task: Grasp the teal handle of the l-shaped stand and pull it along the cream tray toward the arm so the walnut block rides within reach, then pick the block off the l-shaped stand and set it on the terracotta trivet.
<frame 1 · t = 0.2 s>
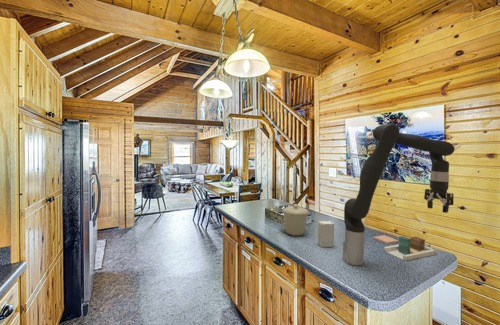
hand: (437, 210, 118), 28 cm above the kitchen island, fingers open, 8 cm apart
canister: (294, 233, 157), on the kitchen island
trivet: (385, 240, 148), on the kitchen island
l-shaped stand: (412, 243, 130), point 5 cm above the kitchen island, slide at 0.0 cm, touching block
skincare box: (325, 245, 138), on the kitchen island
cream tray: (413, 251, 131), on the kitchen island
block: (417, 248, 132), point 2 cm above the kitchen island, touching l-shaped stand
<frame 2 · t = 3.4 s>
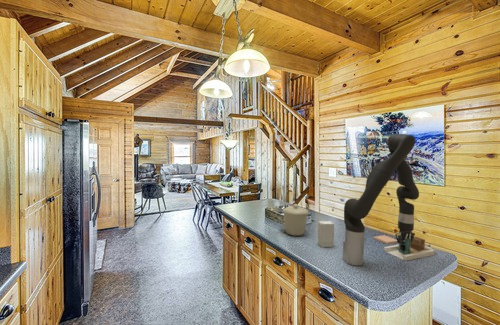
hand: (404, 250, 128), 2 cm above the kitchen island, fingers closed on l-shaped stand, 2 cm apart
l-shaped stand: (412, 243, 130), point 5 cm above the kitchen island, slide at 0.0 cm, touching block, gripper
everything else where it was.
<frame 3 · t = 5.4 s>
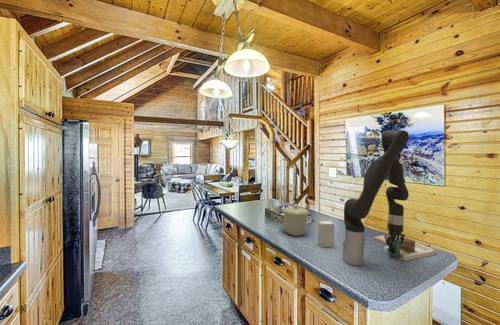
hand: (393, 252, 125), 2 cm above the kitchen island, fingers open, 3 cm apart
l-shaped stand: (402, 245, 127), point 5 cm above the kitchen island, slide at 8.5 cm, touching block
block: (407, 250, 129), point 2 cm above the kitchen island, touching l-shaped stand
everything else where it was.
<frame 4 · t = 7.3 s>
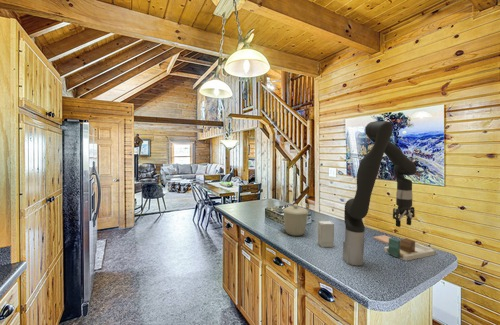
hand: (403, 225, 126), 17 cm above the kitchen island, fingers open, 8 cm apart
nothing on the kitchen island moved.
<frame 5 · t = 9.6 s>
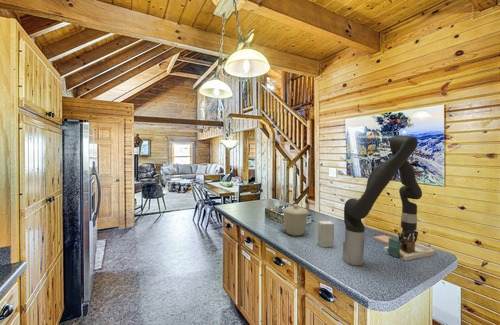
hand: (407, 249, 129), 2 cm above the kitchen island, fingers closed on block, 5 cm apart
block: (407, 250, 129), point 2 cm above the kitchen island, touching gripper, l-shaped stand
everything else where it was.
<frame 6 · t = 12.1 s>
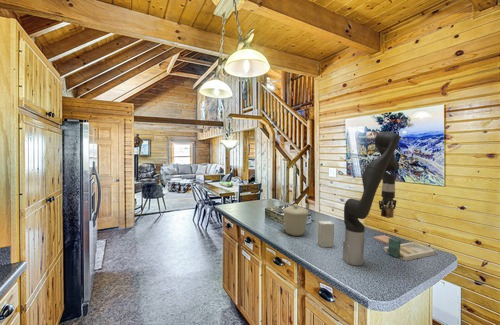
hand: (387, 215, 147), 17 cm above the kitchen island, fingers closed on block, 5 cm apart
l-shaped stand: (402, 245, 127), point 5 cm above the kitchen island, slide at 8.5 cm
block: (387, 216, 147), point 16 cm above the kitchen island, touching gripper
everything else where it was.
when the fingers open (3 cm above the kitchen island, at t = 14.6 s): block stays where it is, resting on trivet.
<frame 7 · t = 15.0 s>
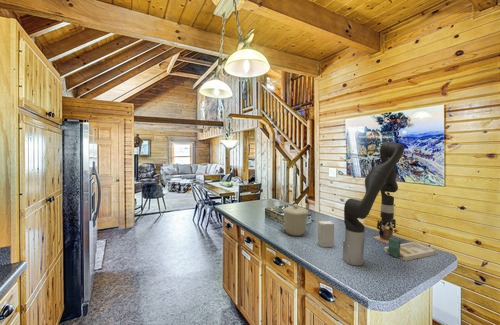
hand: (385, 235, 148), 4 cm above the kitchen island, fingers open, 8 cm apart
block: (385, 238, 148), point 1 cm above the kitchen island, touching trivet
everything else where it was.
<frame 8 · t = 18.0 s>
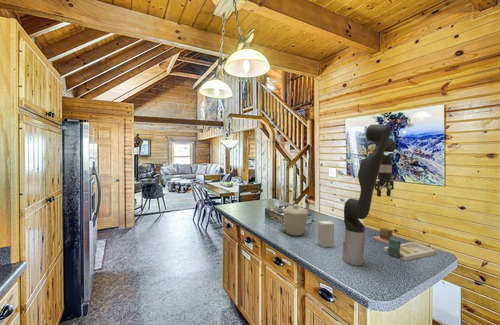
hand: (383, 196, 144), 30 cm above the kitchen island, fingers open, 8 cm apart
nothing on the kitchen island moved.
at the end: l-shaped stand slide at 8.5 cm; block inside the target area on the trivet (0.1 cm from its centre), point 1.2 cm above the trivet's base; block tilted 0° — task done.
